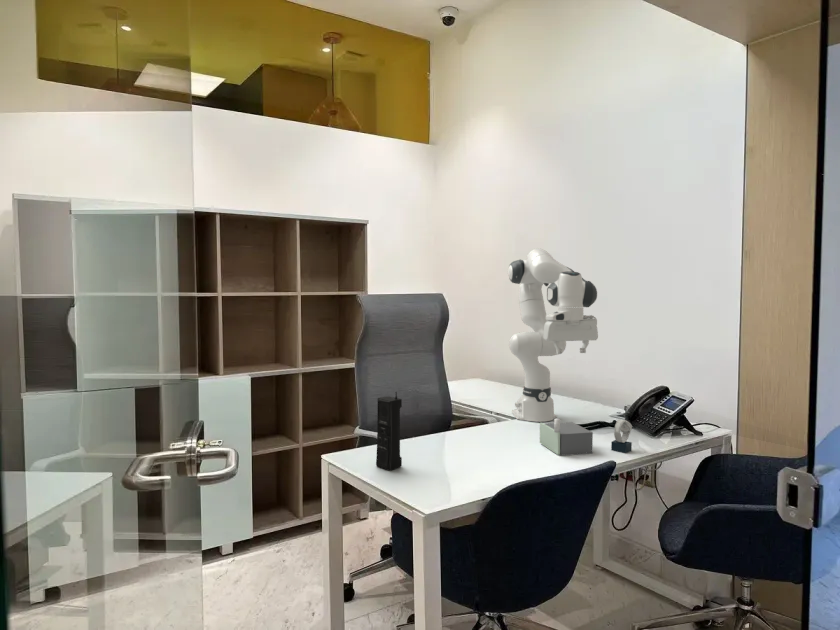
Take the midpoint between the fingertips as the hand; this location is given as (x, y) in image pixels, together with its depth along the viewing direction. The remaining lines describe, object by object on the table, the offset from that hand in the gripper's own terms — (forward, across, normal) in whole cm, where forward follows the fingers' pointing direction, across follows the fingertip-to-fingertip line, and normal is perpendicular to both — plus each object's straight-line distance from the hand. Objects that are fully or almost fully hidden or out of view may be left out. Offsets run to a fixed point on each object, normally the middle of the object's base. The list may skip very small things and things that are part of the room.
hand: (571, 353), depth 199 cm
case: (+35, +2, 0) cm, 35 cm away
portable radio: (+35, +69, +7) cm, 78 cm away
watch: (+35, -16, +7) cm, 39 cm away
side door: (+34, +9, 0) cm, 35 cm away
